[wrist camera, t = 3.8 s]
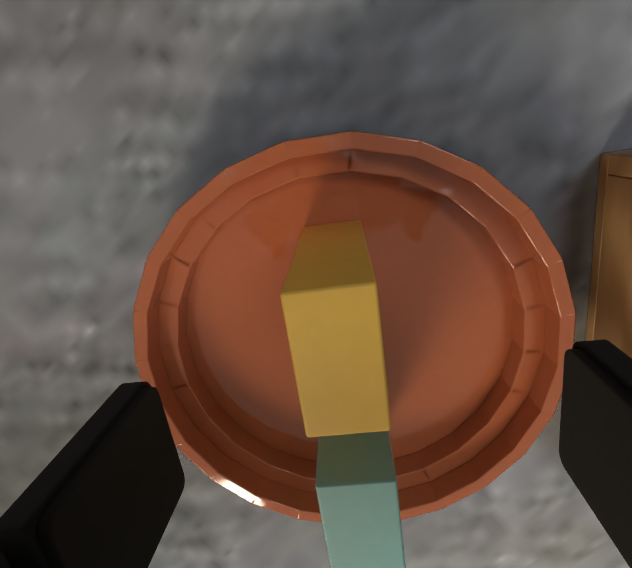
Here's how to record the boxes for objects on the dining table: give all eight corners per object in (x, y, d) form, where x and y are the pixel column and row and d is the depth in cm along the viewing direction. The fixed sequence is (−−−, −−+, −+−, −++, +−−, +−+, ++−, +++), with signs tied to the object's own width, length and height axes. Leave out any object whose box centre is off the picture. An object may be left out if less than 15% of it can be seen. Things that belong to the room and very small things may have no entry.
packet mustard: (303, 226, 18) (278, 293, 11) (360, 219, 18) (376, 282, 10) (318, 322, 20) (306, 438, 12) (371, 316, 20) (392, 431, 12)
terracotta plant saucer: (113, 166, 18) (72, 173, 15) (549, 100, 16) (592, 94, 14) (208, 488, 24) (191, 535, 21) (534, 464, 23) (562, 512, 20)
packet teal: (323, 355, 20) (315, 486, 13) (374, 350, 20) (396, 480, 13) (335, 432, 22) (334, 590, 14) (383, 428, 22) (407, 586, 14)
